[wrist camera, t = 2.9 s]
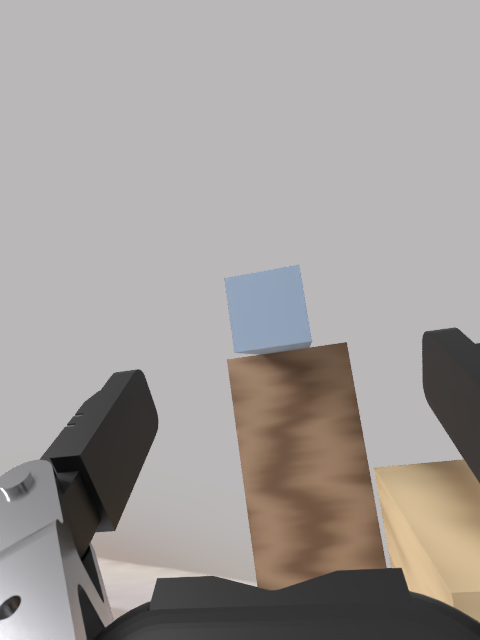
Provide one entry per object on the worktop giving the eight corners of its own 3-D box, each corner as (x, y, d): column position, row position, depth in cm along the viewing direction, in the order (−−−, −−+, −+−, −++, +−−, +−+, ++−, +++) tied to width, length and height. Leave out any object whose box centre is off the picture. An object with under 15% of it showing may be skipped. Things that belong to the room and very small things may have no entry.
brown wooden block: (377, 617, 43) (331, 348, 47) (426, 794, 26) (346, 342, 30) (292, 619, 45) (255, 359, 49) (284, 788, 27) (227, 359, 31)
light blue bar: (308, 351, 48) (303, 321, 48) (311, 341, 19) (299, 264, 19) (277, 355, 49) (273, 326, 49) (234, 352, 19) (224, 278, 20)
